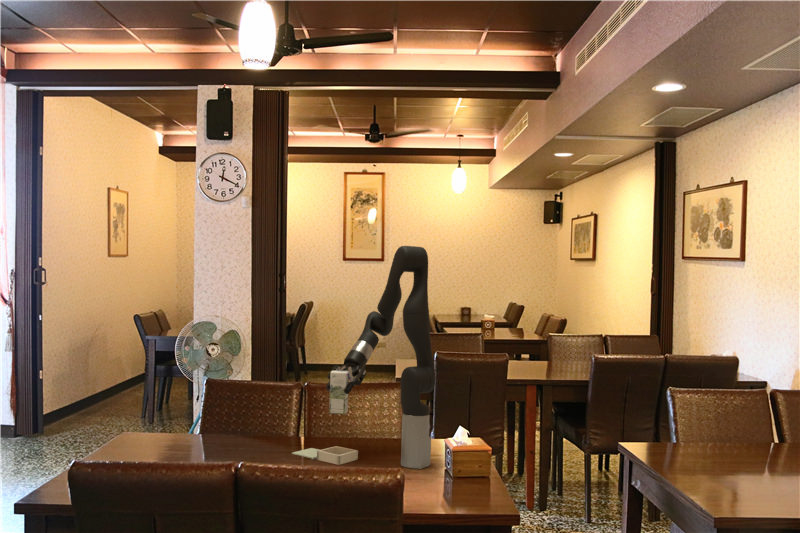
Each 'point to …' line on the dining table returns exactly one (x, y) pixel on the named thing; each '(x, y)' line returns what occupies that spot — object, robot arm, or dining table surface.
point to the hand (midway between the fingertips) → (336, 391)
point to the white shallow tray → (330, 454)
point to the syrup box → (338, 392)
